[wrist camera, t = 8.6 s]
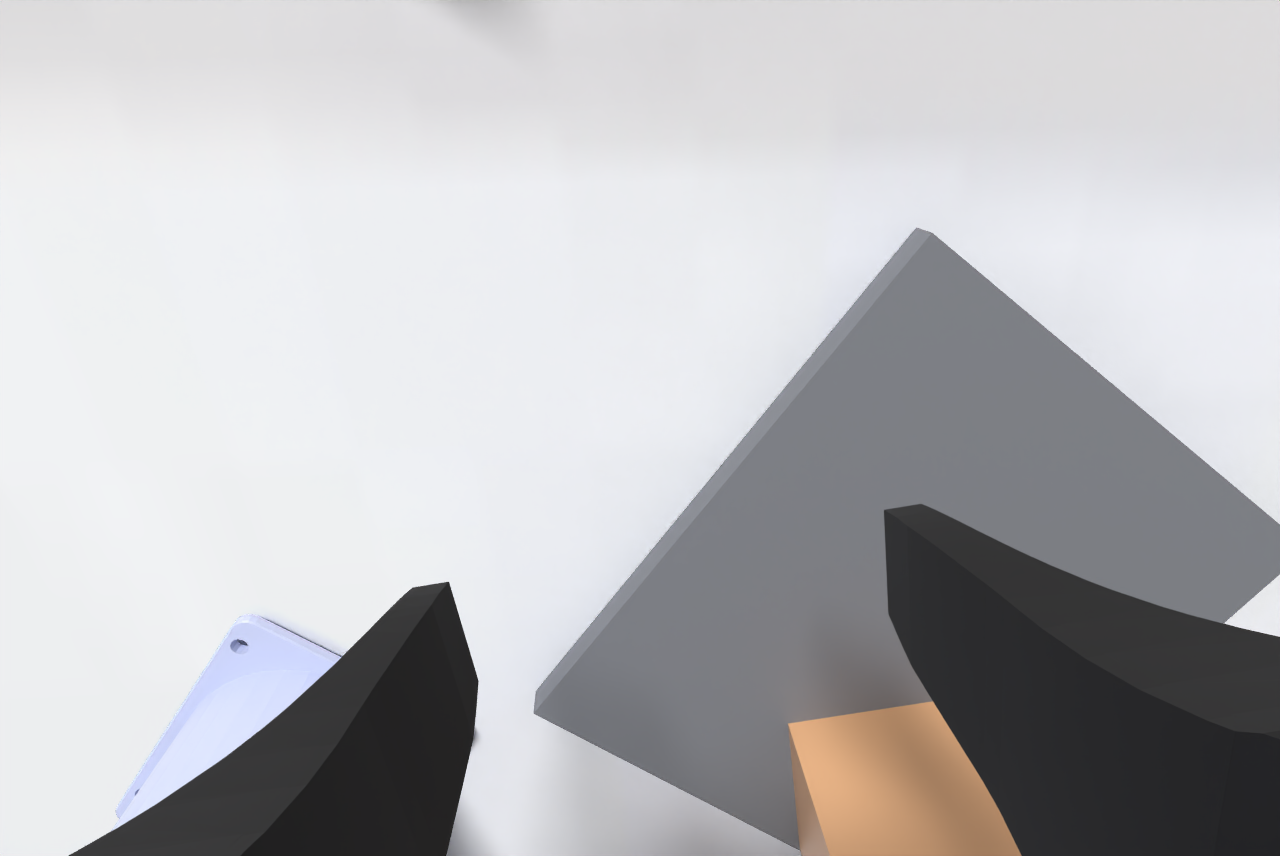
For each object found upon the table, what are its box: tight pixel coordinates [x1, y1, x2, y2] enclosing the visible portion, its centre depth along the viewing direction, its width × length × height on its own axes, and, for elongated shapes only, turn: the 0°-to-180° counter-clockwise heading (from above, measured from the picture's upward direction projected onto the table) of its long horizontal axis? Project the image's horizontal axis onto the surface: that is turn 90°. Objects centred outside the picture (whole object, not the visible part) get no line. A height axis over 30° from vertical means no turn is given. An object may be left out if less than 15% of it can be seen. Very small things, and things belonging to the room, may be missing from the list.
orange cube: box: [788, 701, 1021, 856], centre depth 23 cm, size 6×6×6 cm
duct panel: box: [534, 228, 1280, 850], centre depth 22 cm, size 18×16×5 cm
